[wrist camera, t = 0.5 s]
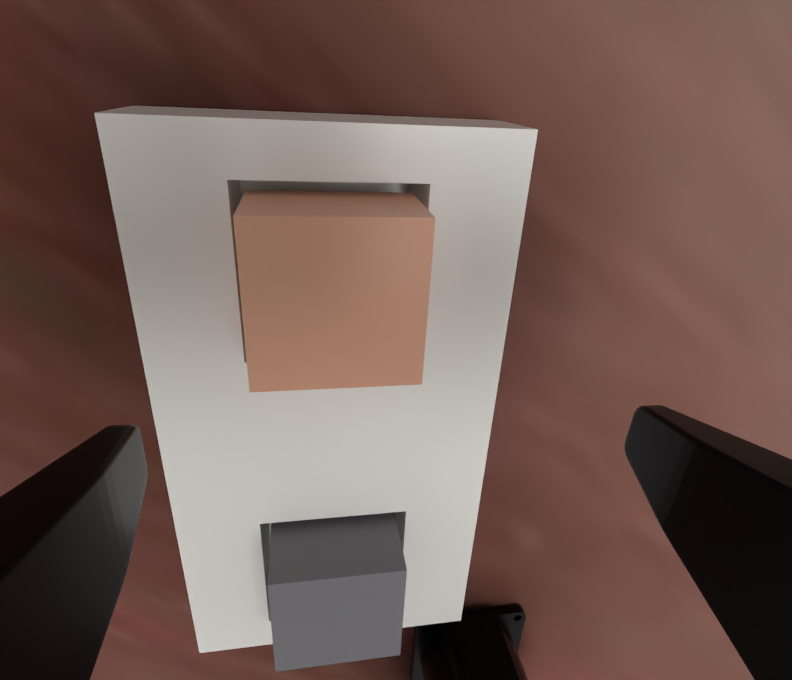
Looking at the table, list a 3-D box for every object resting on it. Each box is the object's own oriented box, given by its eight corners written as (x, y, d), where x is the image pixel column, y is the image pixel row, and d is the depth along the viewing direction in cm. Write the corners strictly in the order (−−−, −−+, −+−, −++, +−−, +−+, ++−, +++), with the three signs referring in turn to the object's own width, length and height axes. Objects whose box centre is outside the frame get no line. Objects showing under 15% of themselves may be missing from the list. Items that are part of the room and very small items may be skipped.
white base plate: (443, 560, 28) (460, 620, 25) (211, 584, 26) (199, 652, 23) (498, 119, 18) (537, 129, 15) (132, 105, 16) (93, 112, 13)
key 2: (388, 587, 24) (400, 654, 21) (278, 599, 23) (275, 671, 21) (393, 506, 22) (407, 570, 19) (271, 517, 21) (267, 585, 18)
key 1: (403, 336, 18) (422, 384, 16) (257, 341, 18) (249, 392, 15) (412, 192, 16) (435, 217, 13) (245, 189, 15) (233, 216, 13)
